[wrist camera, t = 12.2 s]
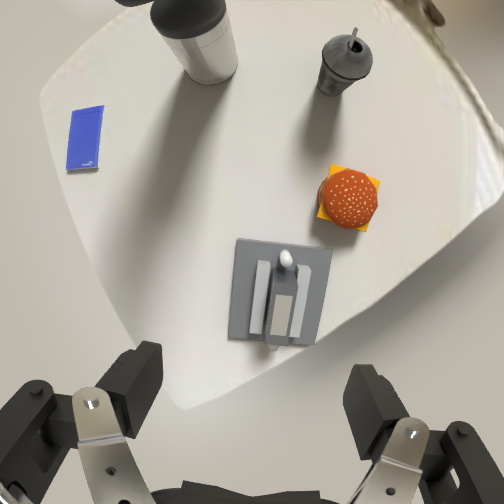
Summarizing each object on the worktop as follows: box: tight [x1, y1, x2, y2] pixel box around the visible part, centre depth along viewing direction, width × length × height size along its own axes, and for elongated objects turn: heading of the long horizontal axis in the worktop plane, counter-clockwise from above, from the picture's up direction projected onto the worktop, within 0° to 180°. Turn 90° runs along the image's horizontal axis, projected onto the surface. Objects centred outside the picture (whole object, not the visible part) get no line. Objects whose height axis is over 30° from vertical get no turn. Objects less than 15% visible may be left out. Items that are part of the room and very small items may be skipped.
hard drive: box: [66, 105, 105, 170], centre depth 45 cm, size 2×8×12 cm
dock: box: [228, 238, 333, 351], centre depth 47 cm, size 18×16×6 cm
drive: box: [265, 267, 298, 346], centre depth 45 cm, size 10×4×8 cm, turn 173°
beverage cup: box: [318, 27, 373, 96], centre depth 32 cm, size 7×7×20 cm
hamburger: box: [317, 164, 380, 232], centre depth 43 cm, size 9×10×7 cm
